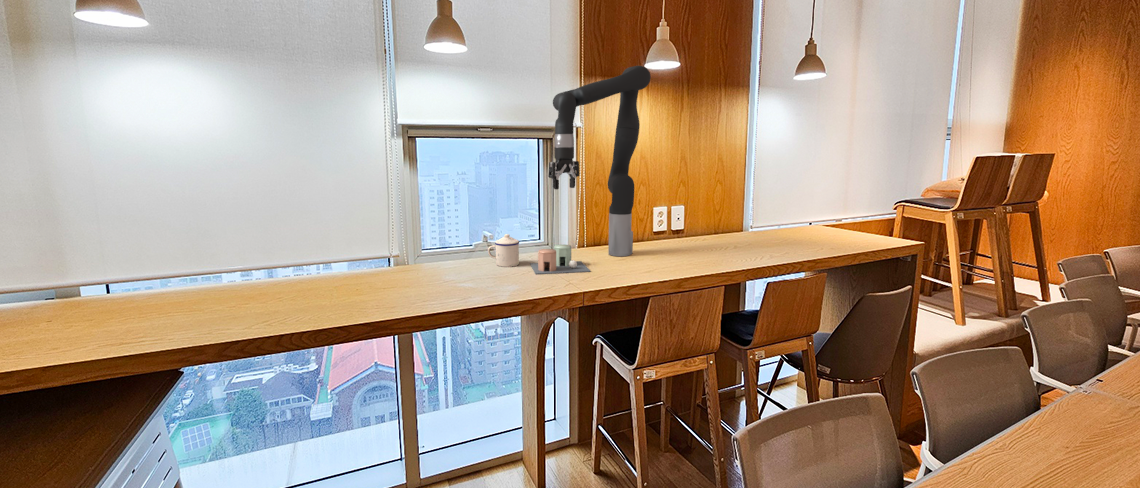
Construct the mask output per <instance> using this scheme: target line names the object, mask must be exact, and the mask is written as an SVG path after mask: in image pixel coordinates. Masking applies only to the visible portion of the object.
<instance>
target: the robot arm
mask: <svg viewBox="0 0 1140 488" xmlns="http://www.w3.org/2000/svg"><path fill="white" fill-rule="evenodd" d="M650 82H651V72H650V71H649V69H648V68H647V67H645V66H644V65H634V66H629V67H627V68H625V69H624V71H622V74H621V75H617V76H614V77H610V78H605V79H603V80H598V81H594V82H590V83H587V84H584V85H581V86H579V87H576V88H574V89H570V90H567V91H562V92H559V93H557V94H556V95H555V96H554V97H553V99H552V106H553V107H554V110H556V111H558V112H557V119H555V123H554V142H553V143H554V144H553V145H554V149H553V150H554V155H553V156H554V159H555V161H554V162H553V161H550V162H548V175H547V176H548V178H549V179H552V187H553V189H554V190H555V191H556V190H559V189H560V180H559V178H560V177H561V176H562V175H563V174H567V175H568V177H569V189H575V187H576V178H577V177H580V162H579V161H578V160H573V159H574V158H575V137H574V122H575V121H574V120H575V117H576V111H577V109H576V108H577V107H580V106H586V105H590V104H591V103H592V104H593V103H594V102H598V101H601V100H603V99H606V98H609V97H612V96H615V95H617V94H619V95H620V97H619V105H618V106H619V108H618V113H617V121H616V127H615V135H614V145H613V153H612V162H611V167H610V171H609V176H608V179H607V189H608V191H609V192H610V193H611V204H610V205H609V208H608V252H607V253H608V256H609V255H610V256H613V257H628V256H630V255H633V250H634V249H633V247H634V246H633V245H634V231H633V230H632V219H633V218H632V215H633V208H634V203H635V202H634V200H635V181H634V179H633V178H632V177H631V176H630V175H629V171H630V170H629V169H630V163H631V159H632V157H633V154H634V152H635V150H636V148H637V144H638V142H639V141H638V140H639V134H640V127H641V126H640V117H639V113H638V107H637V105H638V96H639V91H641V90H644V89H645V88H646V87H648V86H649V84H650Z"/></svg>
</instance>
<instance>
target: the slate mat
mask: <svg viewBox="0 0 1140 488" xmlns="http://www.w3.org/2000/svg"><path fill="white" fill-rule="evenodd" d="M575 261H576V260H575ZM576 262H577V266H576V267H575V268H570V267H569V266H565V263H560V266H556V270H555V271H551V272H550V268H544V271H539V270H538V262H530V263H529V265H530V267H531V269H532V270H533V272H534V274H535V275H548V274H549V275H552V274H553V275H554V274H573V273H574V274H575V273H576V274H577V273H591V272H592V271H591V269H590V268H588V266H587V265H586V264H585V263H584V262H583V261H582V260H577V261H576Z"/></svg>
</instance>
